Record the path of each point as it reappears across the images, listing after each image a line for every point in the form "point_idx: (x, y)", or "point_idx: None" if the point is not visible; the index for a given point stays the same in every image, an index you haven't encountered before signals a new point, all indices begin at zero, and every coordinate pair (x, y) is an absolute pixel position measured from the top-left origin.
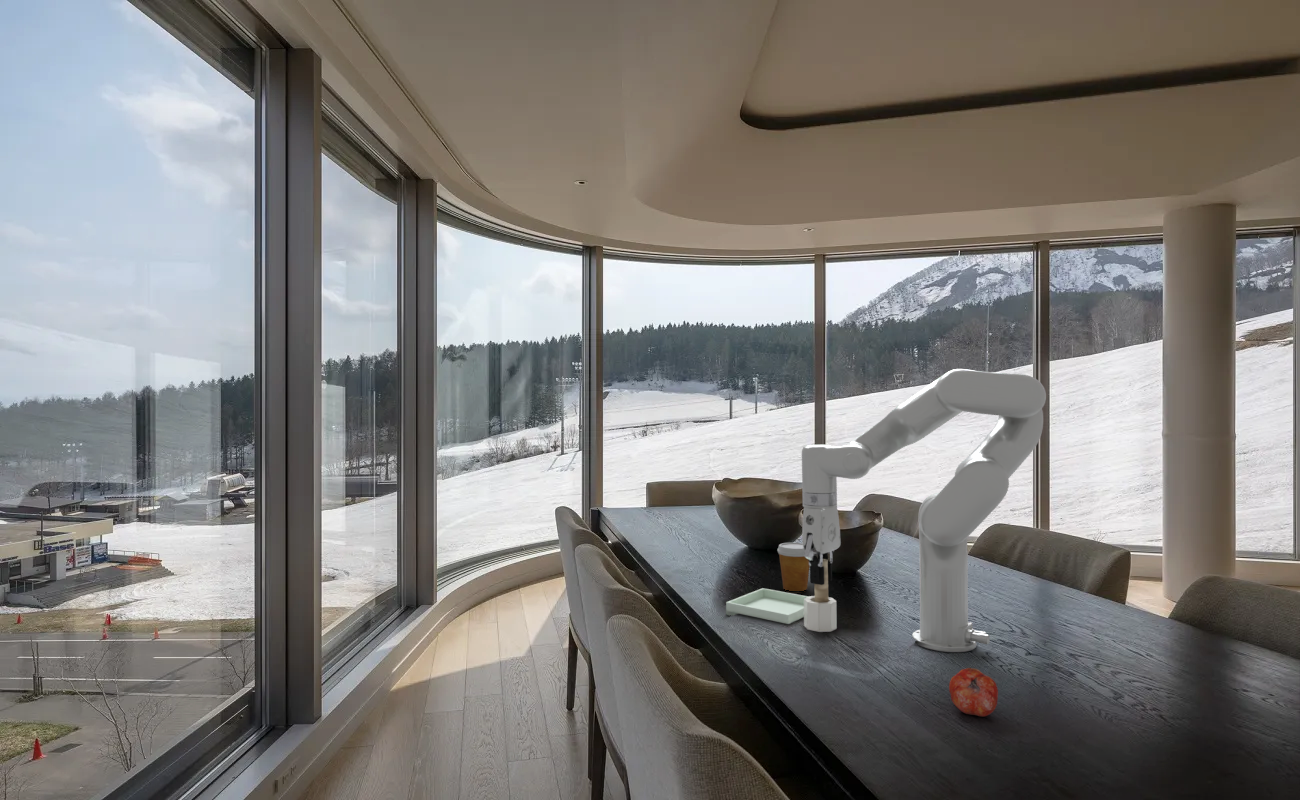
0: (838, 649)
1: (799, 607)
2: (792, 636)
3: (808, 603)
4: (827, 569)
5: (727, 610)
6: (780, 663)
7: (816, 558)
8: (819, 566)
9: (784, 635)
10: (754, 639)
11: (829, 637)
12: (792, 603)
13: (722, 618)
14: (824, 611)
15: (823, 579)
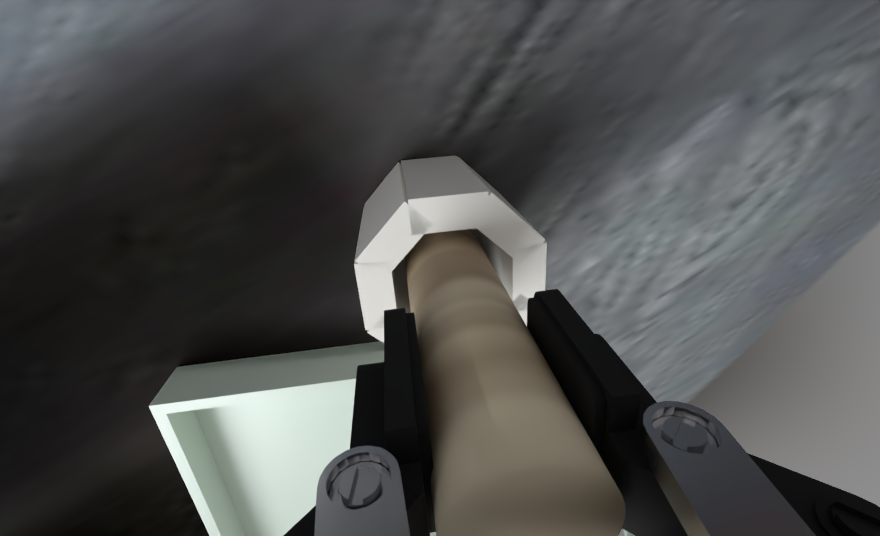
0: (610, 22)
1: (262, 432)
2: (563, 265)
3: None
4: (492, 377)
5: None
6: (872, 121)
7: (850, 524)
8: (695, 414)
9: (570, 292)
10: (667, 333)
11: (480, 149)
12: (238, 475)
13: None
14: (508, 205)
15: (571, 308)
